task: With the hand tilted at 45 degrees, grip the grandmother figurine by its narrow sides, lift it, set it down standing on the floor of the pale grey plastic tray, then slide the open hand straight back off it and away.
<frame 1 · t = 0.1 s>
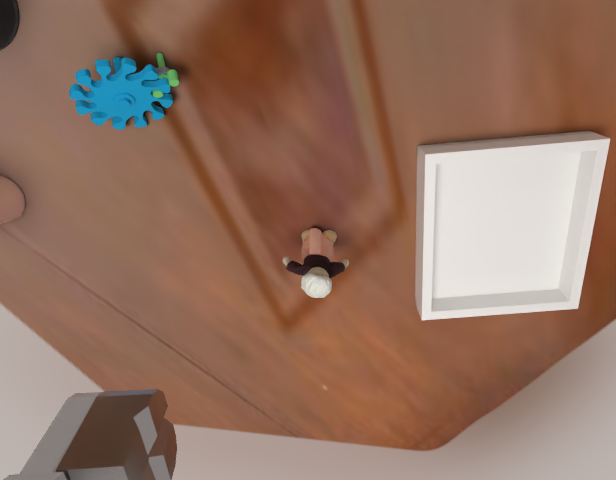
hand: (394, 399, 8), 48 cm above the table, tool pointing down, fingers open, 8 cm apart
gear: (140, 89, 52), on the table
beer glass: (1, 197, 57), on the table
grandmother figurine: (314, 238, 60), on the table
tray: (495, 224, 59), on the table
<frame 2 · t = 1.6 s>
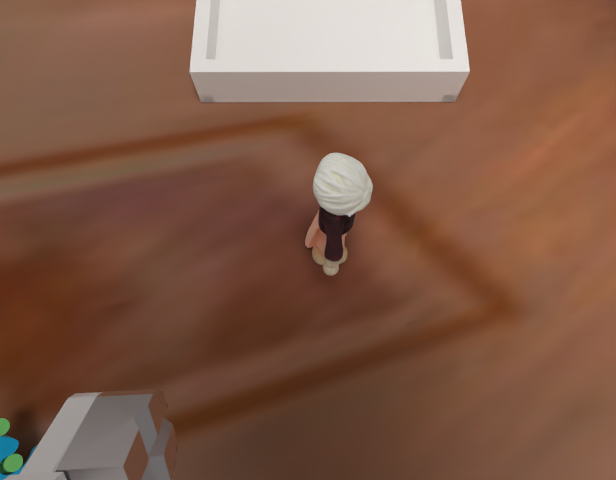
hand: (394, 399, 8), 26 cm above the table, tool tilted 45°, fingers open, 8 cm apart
grandmother figurine: (329, 245, 37), on the table
tray: (326, 10, 44), on the table
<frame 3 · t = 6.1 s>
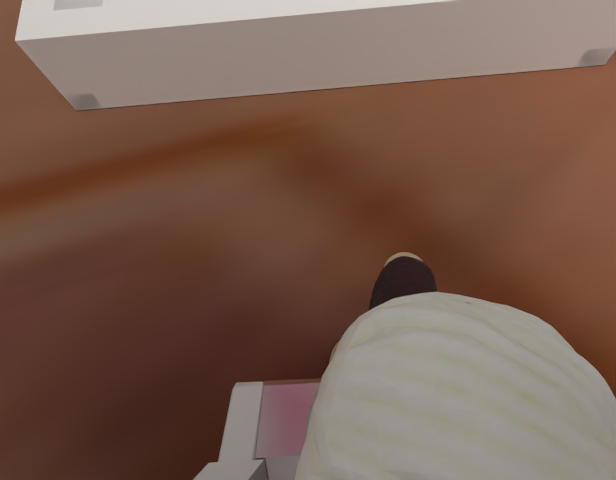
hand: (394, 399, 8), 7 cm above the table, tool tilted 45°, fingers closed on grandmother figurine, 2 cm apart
grandmother figurine: (368, 423, 15), on the table, touching gripper
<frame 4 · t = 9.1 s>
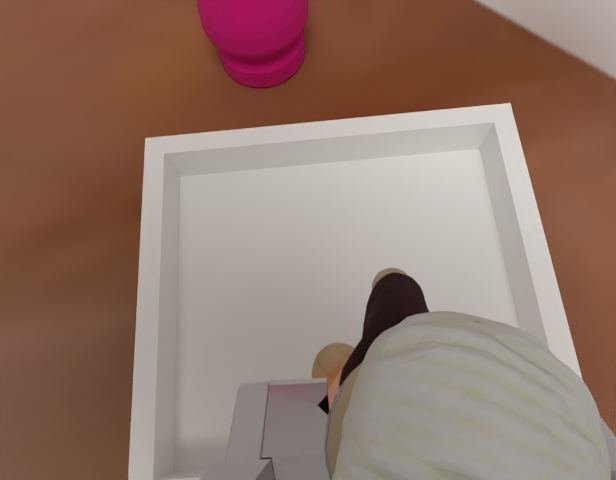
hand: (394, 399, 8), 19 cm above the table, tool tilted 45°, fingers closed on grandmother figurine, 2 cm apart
pepper mill: (263, 56, 35), on the table
grandmother figurine: (348, 428, 16), point 11 cm above the table, touching gripper
tray: (341, 298, 28), on the table
when the fingers open (9 cm above the table, at t = 12.7 s): grandmother figurine stays where it is, resting on tray.
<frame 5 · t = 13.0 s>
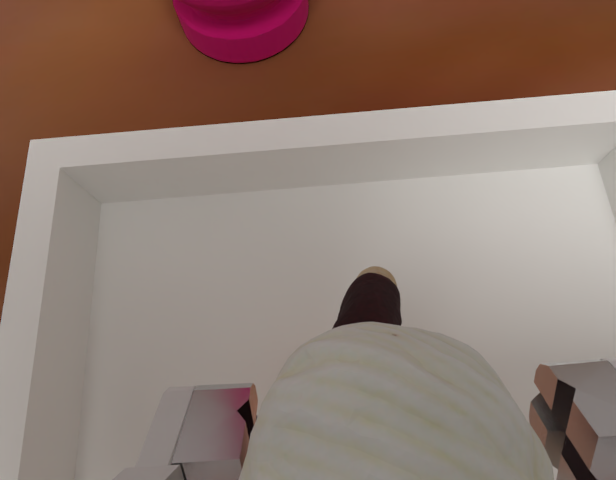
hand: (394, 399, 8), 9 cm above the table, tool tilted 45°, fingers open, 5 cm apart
pepper mill: (246, 16, 23), on the table
grandmother figurine: (348, 428, 16), point 1 cm above the table, touching tray
tray: (366, 422, 16), on the table
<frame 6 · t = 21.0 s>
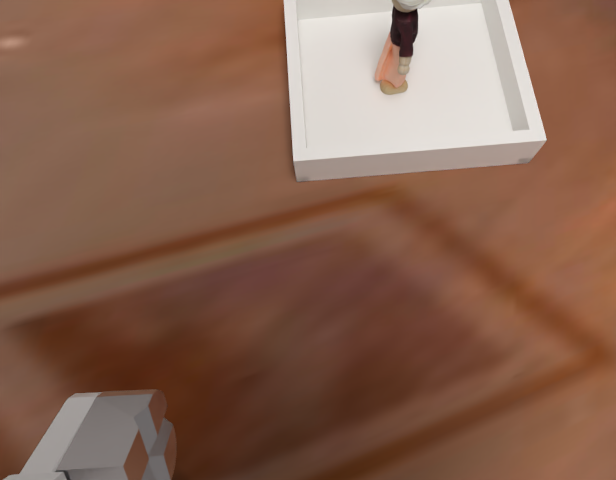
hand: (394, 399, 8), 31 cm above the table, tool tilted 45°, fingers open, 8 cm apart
grandmother figurine: (392, 82, 47), point 1 cm above the table, touching tray
tray: (398, 85, 48), on the table
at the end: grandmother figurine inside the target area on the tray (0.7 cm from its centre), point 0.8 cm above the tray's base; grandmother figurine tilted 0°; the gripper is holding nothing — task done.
